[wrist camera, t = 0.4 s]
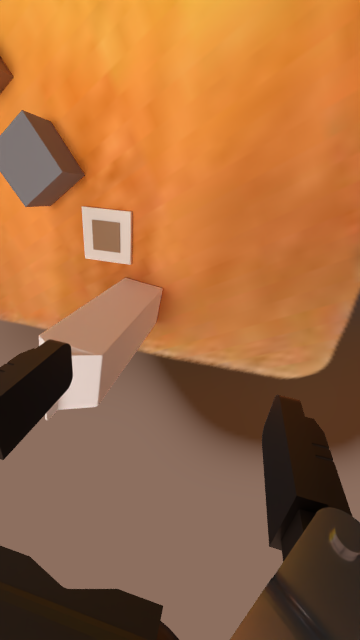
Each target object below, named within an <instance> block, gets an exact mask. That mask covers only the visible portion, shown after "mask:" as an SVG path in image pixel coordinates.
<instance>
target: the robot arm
mask: <svg viewBox="0 0 360 640" xmlns="http://www.w3.org/2000/svg"><path fill="white" fill-rule="evenodd" d="M72 378H73V368H72V352H71V346H70V344H68V343H64V342H60V341H56V340H52V339H49V340H47V341H46V342H44V343H43V344H41V345H40V346H39V347H38V348H36V349H31V350H28V351H26V352H23V353H21V354H19V355H17V356H16V357H14V358H13V359H12V360H10V361H9V362H8V363H7V364H4V365H3V366H2V367H0V459H2V460H4V459H5V457H6V456H7V455H8V454H9V453H10V452H11V451H12V450H13V449H14V448H15V447H16V446H17V444H18V443H19V442H20V441H21V440H22V439H23V438H24V437H25V436H26V435H27V433H28V432H29V431H30V430H31V429H32V428H33V427H34V426H35V425H36V424H37V423H38V422H39V420H40V419H41V418H42V417H43V416H44V415H45V414H46V413H47V412H48V411H49V409H50V408H51V407H52V406H53V405H54V404H55V403H56V402H57V401H58V400H59V399H60V397H61V396H62V395H63V394H64V393H65V392H66V391H67V390H68V388H69V387H70V385H71V382H72ZM262 450H263V464H264V478H265V492H266V506H267V521H268V534H269V546H270V547H273V548H276V549H279V550H282V554H283V563H282V565H281V566H280V568H279V569H278V571H277V572H276V574H275V575H274V577H273V578H271V580H270V581H269V583H268V584H267V586H266V587H265V588H264V590H263V591H262V593H261V594H260V596H259V597H258V599H257V600H256V602H255V603H254V605H253V606H252V608H251V609H250V611H249V612H248V613H247V615H246V616H245V618H244V619H243V621H242V622H241V624H240V625H239V627H238V628H237V630H236V631H235V633H234V634H233V636H232V637H231V639H230V640H360V522H359V521H357V520H356V519H355V518H354V517H353V516H352V514H351V512H350V508H349V506H348V502H347V500H346V496H345V494H344V491H343V488H342V485H341V482H340V479H339V476H338V473H337V470H336V467H335V464H334V462H333V458H332V455H331V452H330V450H329V446H328V443H327V440H326V437H325V434H324V432H323V431H322V429H321V428H320V427H319V425H318V424H317V423H316V421H315V420H314V419H312V418H308V417H305V416H304V412H303V408H302V405H301V402H300V400H297V399H293V398H289V397H285V396H281V395H276V397H275V399H274V401H273V404H272V407H271V409H270V412H269V415H268V417H267V420H266V422H265V425H264V429H263V435H262ZM162 609H163V606H162V605H159V604H156V603H154V602H151V601H148V600H145V599H143V598H140V597H138V596H135V595H132V594H129V593H127V592H124V591H121V590H119V589H66V588H64V587H62V586H61V585H60V584H59V583H58V582H57V581H55V580H54V579H53V578H52V577H51V576H50V575H49V574H48V573H47V572H46V571H45V570H44V569H42V568H41V567H40V566H39V565H38V564H37V563H36V562H35V561H34V560H33V559H32V558H31V557H29V556H26V555H24V554H21V553H19V552H16V551H13V550H10V549H8V548H5V547H2V546H0V640H179V639H178V638H177V637H176V635H175V634H174V633H173V632H172V631H171V630H170V629H169V628H168V627H167V626H166V625H164V623H162V622H161V621H160V619H161V614H162Z"/></svg>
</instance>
